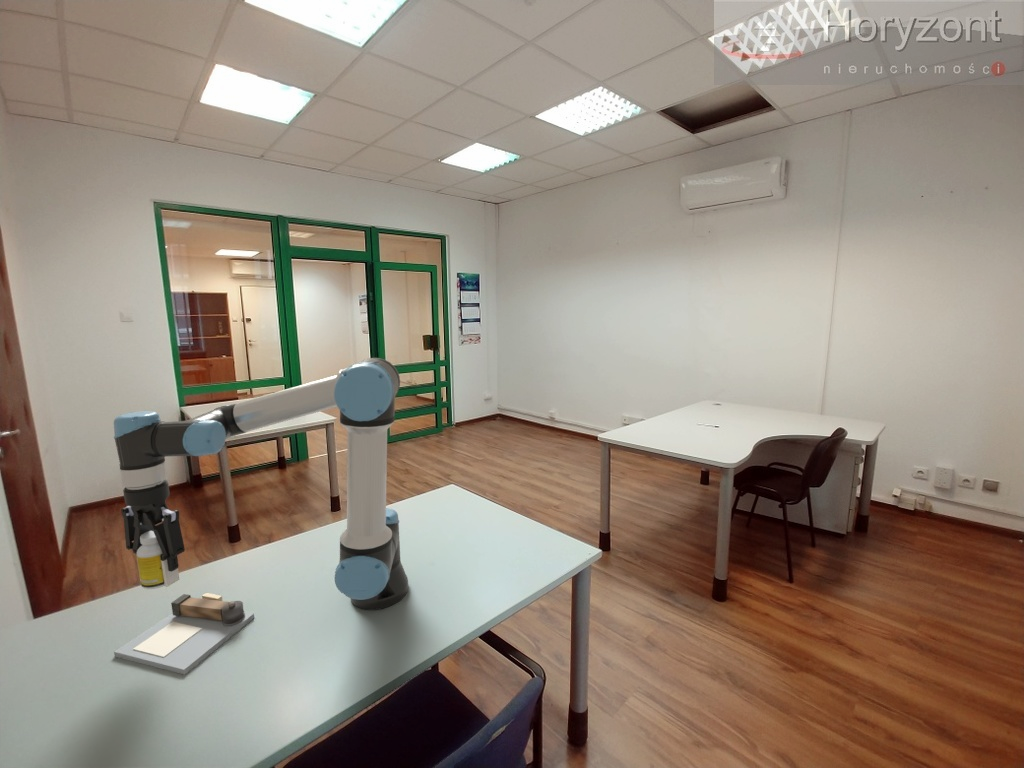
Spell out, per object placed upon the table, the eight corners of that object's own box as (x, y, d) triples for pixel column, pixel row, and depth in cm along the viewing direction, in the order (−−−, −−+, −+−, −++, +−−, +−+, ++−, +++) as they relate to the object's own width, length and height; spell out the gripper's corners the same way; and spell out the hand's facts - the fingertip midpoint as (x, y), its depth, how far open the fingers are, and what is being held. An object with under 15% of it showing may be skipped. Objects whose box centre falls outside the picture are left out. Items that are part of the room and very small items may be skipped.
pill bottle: (157, 592, 95) (150, 542, 93) (133, 588, 96) (126, 539, 94) (185, 575, 101) (179, 528, 99) (162, 571, 102) (155, 525, 101)
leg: (248, 612, 109) (246, 598, 108) (234, 624, 105) (232, 609, 104) (186, 605, 112) (185, 590, 111) (171, 616, 108) (168, 601, 107)
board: (254, 617, 110) (252, 601, 109) (184, 674, 92) (182, 656, 92) (191, 604, 115) (189, 589, 114) (114, 656, 97) (111, 638, 97)
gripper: (197, 481, 96) (209, 577, 100) (130, 473, 101) (144, 565, 105) (162, 494, 89) (177, 597, 93) (92, 485, 94) (109, 583, 97)
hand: (159, 580), depth 99 cm, fingers closed on pill bottle, 6 cm apart
